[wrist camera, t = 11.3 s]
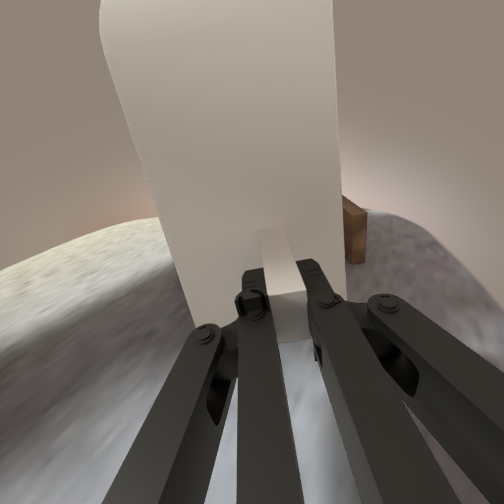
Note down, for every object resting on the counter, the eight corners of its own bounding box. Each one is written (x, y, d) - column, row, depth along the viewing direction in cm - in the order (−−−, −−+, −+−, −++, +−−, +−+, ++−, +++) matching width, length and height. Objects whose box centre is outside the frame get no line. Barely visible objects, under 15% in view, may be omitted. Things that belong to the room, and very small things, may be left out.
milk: (216, 257, 29) (121, -56, 17) (310, 241, 28) (284, -102, 16) (198, 335, 19) (-92, -358, 6) (347, 313, 18) (355, -541, 5)
